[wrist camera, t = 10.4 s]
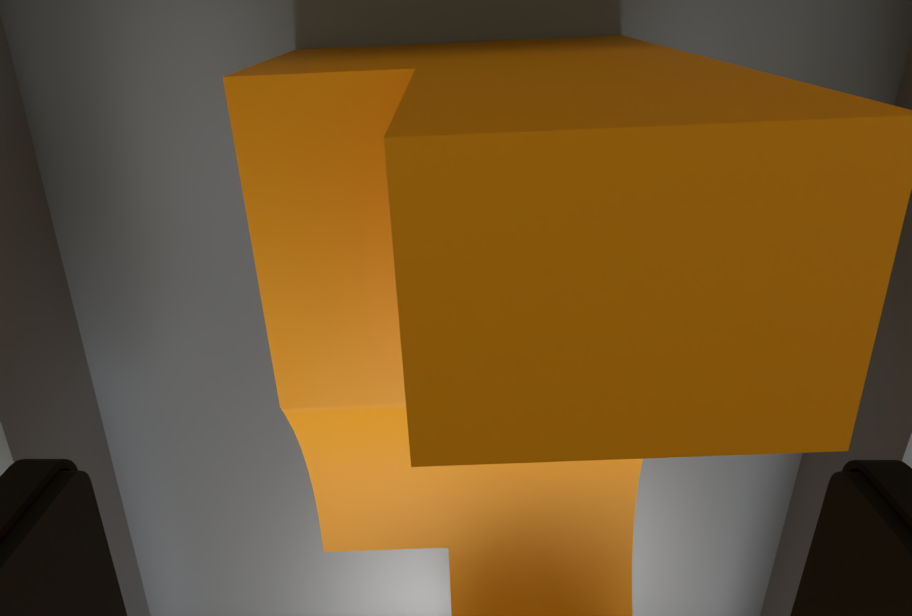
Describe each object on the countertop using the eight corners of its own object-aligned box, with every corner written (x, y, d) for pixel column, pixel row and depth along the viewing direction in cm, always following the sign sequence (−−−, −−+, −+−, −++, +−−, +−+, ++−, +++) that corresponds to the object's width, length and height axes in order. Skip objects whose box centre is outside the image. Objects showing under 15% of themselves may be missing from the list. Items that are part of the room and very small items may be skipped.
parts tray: (1006, -175, 9) (1254, -249, 6) (757, 707, 16) (820, 854, 13) (-91, -183, 9) (-335, -263, 6) (151, 707, 16) (88, 857, 13)
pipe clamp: (295, 49, 9) (20, 153, 3) (621, 34, 9) (930, 113, 3) (376, 669, 14) (322, 1147, 8) (586, 661, 14) (683, 1137, 8)
